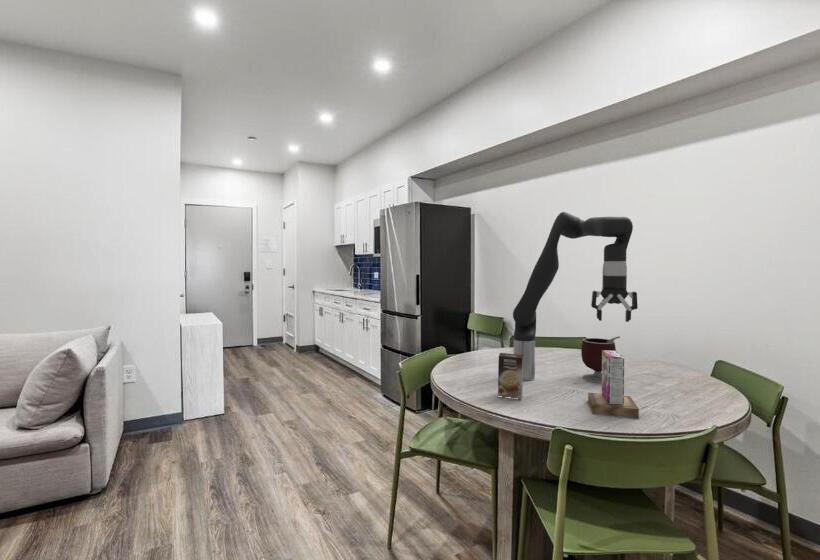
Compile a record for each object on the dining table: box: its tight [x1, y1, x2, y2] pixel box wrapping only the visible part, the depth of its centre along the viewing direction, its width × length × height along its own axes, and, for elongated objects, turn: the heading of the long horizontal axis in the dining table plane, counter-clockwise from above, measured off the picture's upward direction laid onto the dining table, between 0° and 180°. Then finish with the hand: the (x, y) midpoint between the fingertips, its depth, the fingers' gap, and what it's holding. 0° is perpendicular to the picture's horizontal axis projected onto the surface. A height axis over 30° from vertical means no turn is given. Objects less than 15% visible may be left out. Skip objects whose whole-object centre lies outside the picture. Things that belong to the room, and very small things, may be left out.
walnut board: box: [587, 392, 640, 419], centre depth 144 cm, size 14×14×3 cm
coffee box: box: [497, 352, 524, 399], centre depth 158 cm, size 9×6×16 cm
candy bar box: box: [601, 350, 625, 405], centre depth 144 cm, size 11×5×16 cm, turn 167°
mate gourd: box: [580, 335, 621, 384], centre depth 181 cm, size 16×14×20 cm
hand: (613, 321), depth 143 cm, fingers open, 8 cm apart
